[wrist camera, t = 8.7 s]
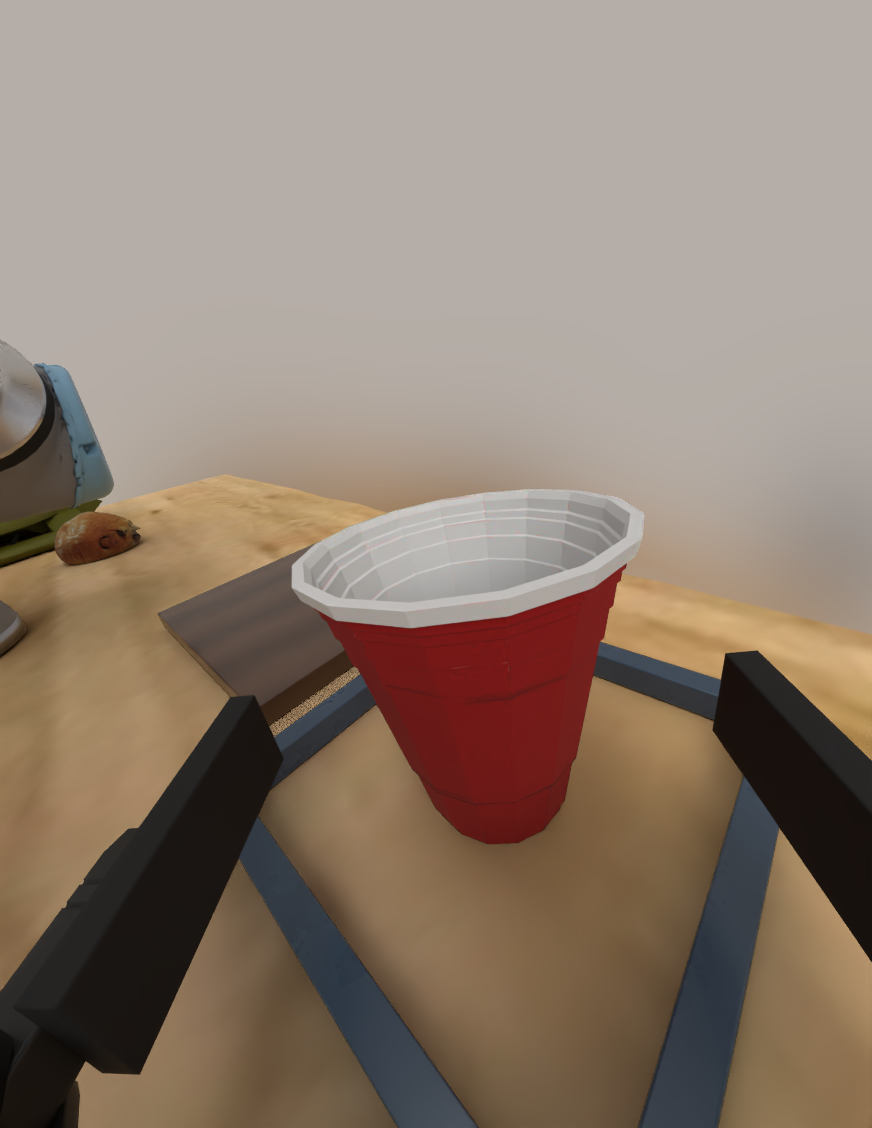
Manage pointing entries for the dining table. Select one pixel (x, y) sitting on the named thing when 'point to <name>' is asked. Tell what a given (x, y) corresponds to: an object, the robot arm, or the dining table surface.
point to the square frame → (709, 985)
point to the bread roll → (94, 537)
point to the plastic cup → (479, 639)
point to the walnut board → (260, 638)
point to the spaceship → (37, 524)
